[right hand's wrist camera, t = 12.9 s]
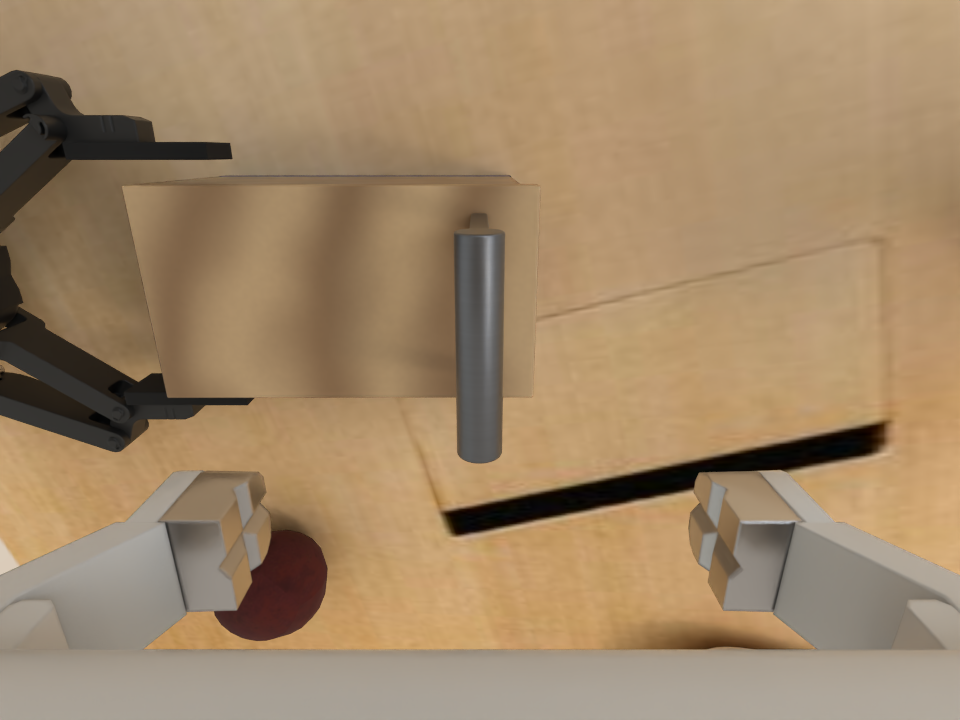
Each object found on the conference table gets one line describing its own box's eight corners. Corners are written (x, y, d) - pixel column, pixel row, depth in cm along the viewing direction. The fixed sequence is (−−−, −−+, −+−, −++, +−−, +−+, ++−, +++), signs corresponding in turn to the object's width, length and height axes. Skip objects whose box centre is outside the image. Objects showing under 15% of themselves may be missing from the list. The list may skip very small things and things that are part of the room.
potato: (219, 549, 42) (171, 623, 36) (285, 490, 40) (246, 556, 34) (293, 604, 44) (260, 684, 38) (359, 550, 42) (337, 624, 36)
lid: (538, 183, 24) (569, 200, 16) (531, 388, 28) (553, 488, 19) (136, 184, 24) (-41, 200, 16) (178, 388, 28) (51, 489, 19)
